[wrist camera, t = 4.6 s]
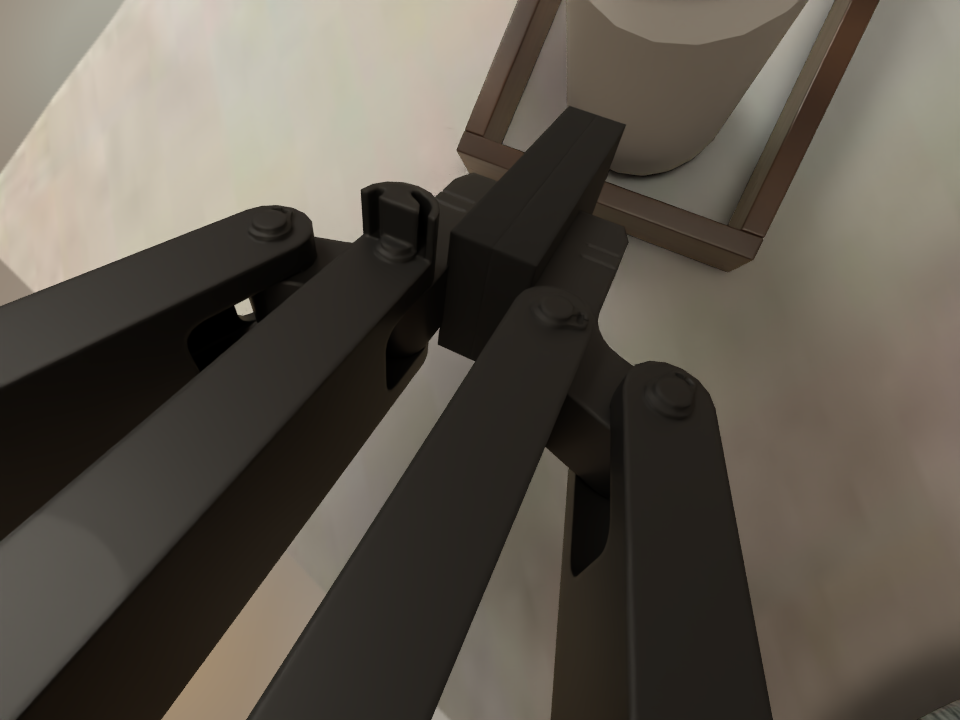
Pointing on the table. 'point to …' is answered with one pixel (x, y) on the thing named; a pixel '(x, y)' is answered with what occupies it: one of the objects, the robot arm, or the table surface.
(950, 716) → the streaked grey-green pebble
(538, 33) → the walnut frame
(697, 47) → the can
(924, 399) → the table surface
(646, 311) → the table surface
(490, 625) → the table surface
